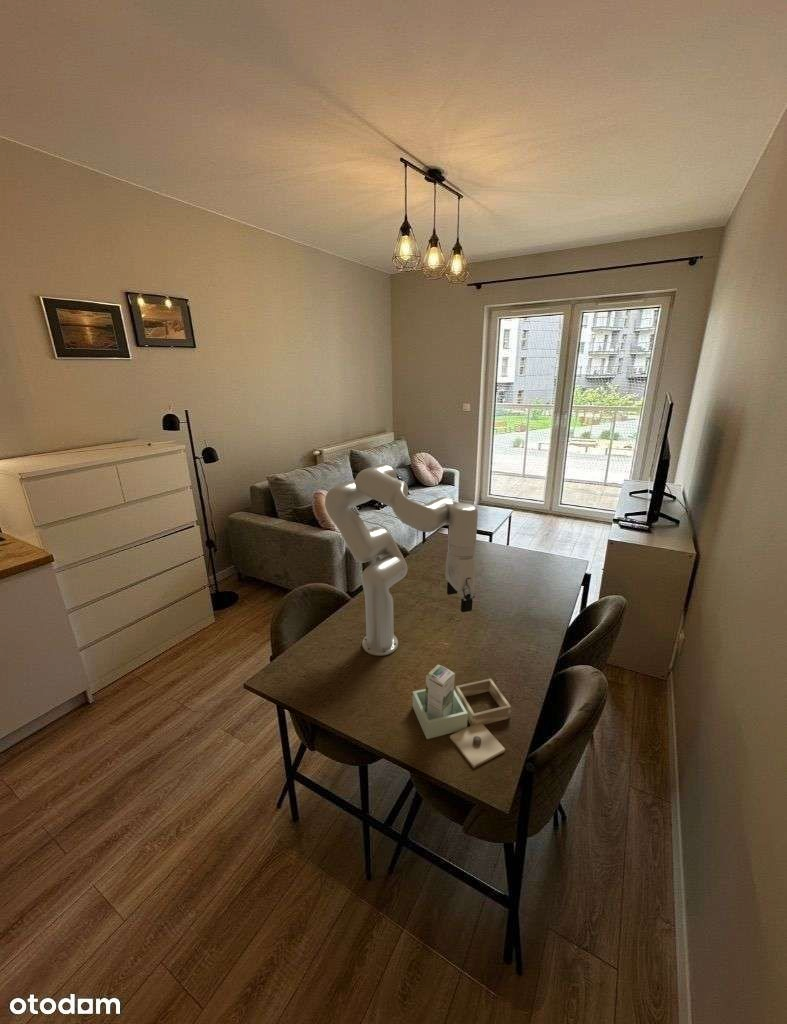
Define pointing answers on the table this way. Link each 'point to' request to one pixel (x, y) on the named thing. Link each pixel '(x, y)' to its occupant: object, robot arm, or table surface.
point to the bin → (442, 724)
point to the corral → (488, 715)
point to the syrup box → (439, 692)
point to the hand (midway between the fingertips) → (458, 602)
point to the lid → (477, 744)
